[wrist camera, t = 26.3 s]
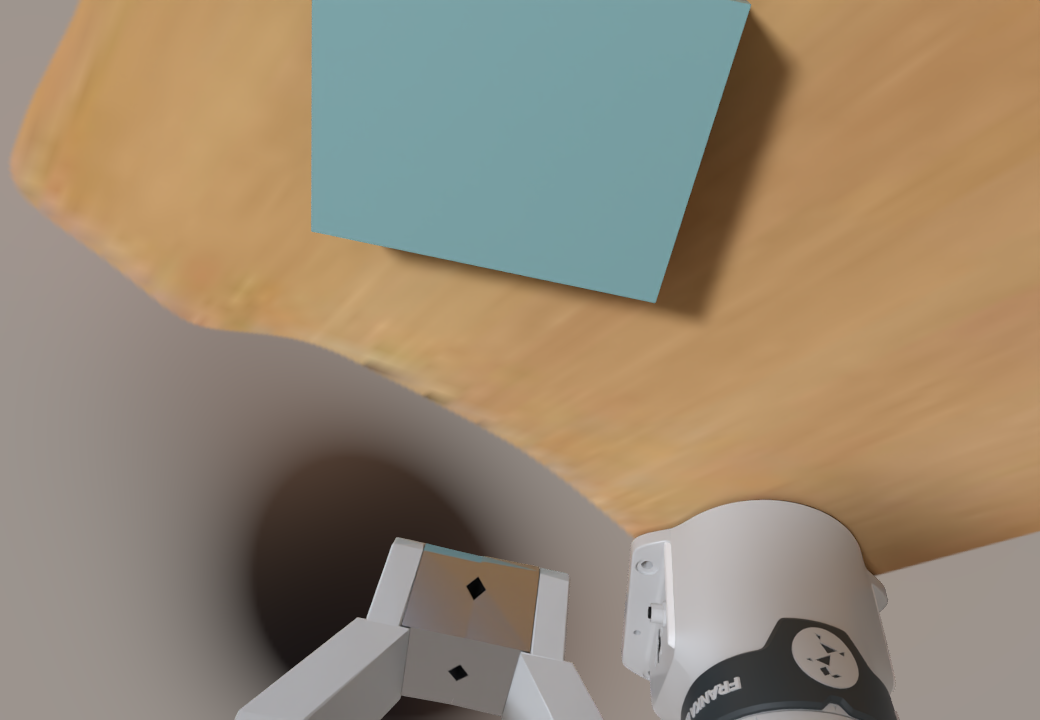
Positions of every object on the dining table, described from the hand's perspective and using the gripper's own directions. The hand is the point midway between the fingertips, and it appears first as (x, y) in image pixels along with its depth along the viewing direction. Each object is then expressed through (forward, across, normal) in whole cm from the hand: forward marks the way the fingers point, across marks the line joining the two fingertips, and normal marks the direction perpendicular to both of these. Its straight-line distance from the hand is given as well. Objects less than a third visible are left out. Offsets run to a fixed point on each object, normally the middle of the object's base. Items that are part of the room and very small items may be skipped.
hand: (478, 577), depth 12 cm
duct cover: (+26, +3, 0) cm, 26 cm away
